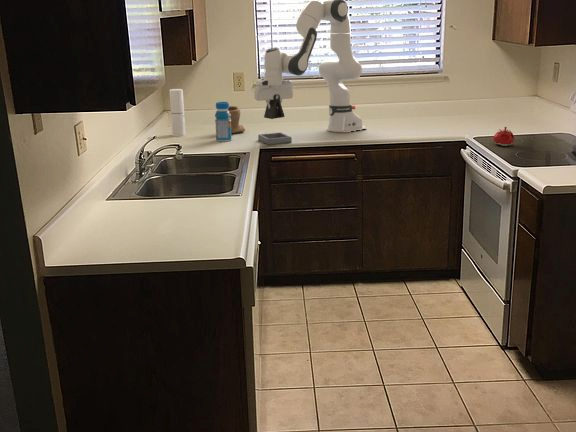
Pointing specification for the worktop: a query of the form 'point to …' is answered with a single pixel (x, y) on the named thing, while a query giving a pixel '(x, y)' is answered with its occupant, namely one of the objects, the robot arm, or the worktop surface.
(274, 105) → the door stopper
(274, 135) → the tray
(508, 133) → the pomegranate
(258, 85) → the robot arm
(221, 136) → the beverage bottle
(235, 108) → the tan boot
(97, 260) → the worktop surface
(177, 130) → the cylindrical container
